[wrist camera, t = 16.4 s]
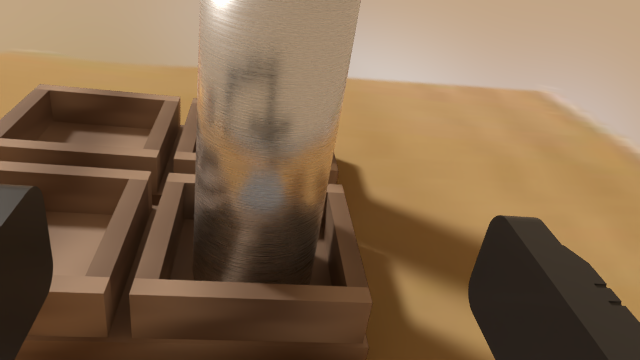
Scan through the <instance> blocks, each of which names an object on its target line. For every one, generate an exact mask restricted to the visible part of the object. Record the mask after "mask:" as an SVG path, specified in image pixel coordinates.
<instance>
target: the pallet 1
mask: <svg viewBox="0 0 640 360" xmlns="http://www.w3.org/2000/svg"><path fill="white" fill-rule="evenodd" d="M196 130H197V98H193V101H192V104H191V107H190V110H189V113H188V116H187V119H186V122H185V125H180V97H176V96H165V95H154V94H143V93H132V92H121V91H110V90H99V89H88V88H77V87H66V86H55V85H44V84H39V85H38V86H37V87H36V88H35V89H34V90H33V91H32V92H31V93H29V94H28V95H27V96H26V97H25V98H24V99H23V100H22V101H21V102H19V103H18V104H17V105H16V106H15V107H14V108H13V109H12V110H11V111H9V112H8V113H7V114H6V115H5V116H4V117H3V118H2V119H1V120H0V161H7V162H22V163H36V164H51V165H65V166H80V167H94V168H109V169H123V170H137V171H151V183H152V205H153V206H158V205H159V202H160V199H161V196H162V193H163V189H164V186H165V183H166V180H167V177H168V174H169V173H181V174H195V166H196ZM337 177H338V167H337V163H336V159H335V155H334V153H333V159H332V164H331V170H330V175H329V181H328V184H336V183H337Z"/></svg>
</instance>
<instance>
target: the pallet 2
mask: <svg viewBox="0 0 640 360" xmlns="http://www.w3.org/2000/svg"><path fill="white" fill-rule="evenodd" d="M0 184H9V185H25V186H37V187H38V188H39V189H40V190H41V192H42V194H43V198H44V204H45V211H46V217H47V224H48V231H49V237H50V244H51V250H52V257H53V276H52V282H51V287H50V290H49V293H48V296H47V298H46V300H45V302H44V304H43V306H42V308H41V310H40V312H39V313H38V315H37V317H36V319H35V321H34V323H33V325H32V327H31V329H30V331H29V333H28V335H27V337H26V339H25V340H24V342H23V344H22V346H21V348H20V350H19V352H18V354H17V356H16V358H15V360H366V357H367V353H368V350H369V346H368V342H367V337H366V333H365V332H366V328H367V324H368V320H369V316H370V312H371V307H372V299H371V295H370V291H369V287H368V283H367V279H366V276H365V272H364V268H363V264H362V260H361V256H360V252H359V248H358V244H357V241H356V237H355V233H354V229H353V225H352V221H351V217H350V213H349V210H348V206H347V202H346V198H345V194H344V190H343V186H342V185H340V184H328V186H327V192H326V198H325V203H324V209H323V214H322V220H321V226H320V231H319V237H318V242H317V248H316V254H315V259H314V265H313V270H312V276H311V281H310V283H309V285H292V284H267V283H242V282H216V281H195V278H194V276H193V239H194V203H195V174H181V173H169V174H168V177H167V180H166V183H165V186H164V189H163V193H162V196H161V199H160V202H159V205H158V206H153V205H152V183H151V171H137V170H123V169H109V168H94V167H80V166H65V165H51V164H36V163H22V162H7V161H0Z"/></svg>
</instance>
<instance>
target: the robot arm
mask: <svg viewBox="0 0 640 360" xmlns="http://www.w3.org/2000/svg"><path fill="white" fill-rule="evenodd" d="M52 276H53V257H52V250H51V244H50V237H49V231H48V224H47V217H46V211H45V204H44V198H43V194H42V192H41V190H40V189H39V188H38V187H37V186H25V185H9V184H0V360H15V358H16V356H17V354H18V352H19V350H20V348H21V346H22V344H23V342H24V340H25V339H26V337H27V335H28V333H29V331H30V329H31V327H32V325H33V323H34V321H35V319H36V317H37V315H38V313H39V312H40V310H41V308H42V306H43V304H44V302H45V300H46V298H47V296H48V293H49V290H50V287H51V282H52ZM468 295H469V303H470V307H471V310H472V313H473V315H474V317H475V319H476V321H477V323H478V325H479V327H480V329H481V331H482V333H483V335H484V337H485V339H486V341H487V343H488V345H489V348H490V350H491V352H492V354H493V356H494V358H495V360H640V322H639V321H638V320H637V319H636V318H635V317H634V315H633V314H632V313H631V312H630V311H629V310H628V308H627V307H626V306H622V305H621V300H620V299H619V298H618V297H617V296H616V294H615V293H614V292H613V291H612V290H611V289H610V288H607V287H606V283H605V282H604V281H603V279H602V278H601V277H600V276H599V275H598V274H597V272H596V271H595V270H594V269H593V268H592V267H591V265H590V264H589V263H588V262H586V261H585V260H583V259H582V258H581V257H579V256H578V255H576V254H575V253H574V252H572V251H571V250H569V249H568V248H567V247H565V246H564V245H561V243H560V242H559V241H558V240H557V239H556V237H555V236H554V235H553V234H552V233H551V231H550V230H549V229H548V228H547V226H546V225H545V224H544V223H543V222H542V221H541V220H540V219H538V218H534V217H517V216H501V215H500V216H496V217H494V218H493V219H492V221H491V222H490V224H489V227H488V229H487V232H486V235H485V238H484V241H483V243H482V246H481V249H480V252H479V255H478V258H477V260H476V263H475V266H474V269H473V272H472V274H471V277H470V281H469V289H468Z"/></svg>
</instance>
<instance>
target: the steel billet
mask: <svg viewBox="0 0 640 360" xmlns="http://www.w3.org/2000/svg"><path fill="white" fill-rule="evenodd" d="M360 2H361V0H200V23H199V58H198V59H199V60H198V94H197V130H196V166H195V203H194V239H193V276H194V278H195V281H216V282H242V283H267V284H292V285H309V283H310V281H311V276H312V270H313V265H314V259H315V254H316V248H317V242H318V237H319V231H320V226H321V220H322V214H323V209H324V203H325V198H326V192H327V186H328V181H329V175H330V170H331V164H332V159H333V153H334V147H335V142H336V136H337V131H338V125H339V119H340V114H341V108H342V103H343V97H344V91H345V86H346V80H347V75H348V69H349V64H350V58H351V52H352V46H353V41H354V35H355V30H356V24H357V19H358V13H359V7H360Z"/></svg>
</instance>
